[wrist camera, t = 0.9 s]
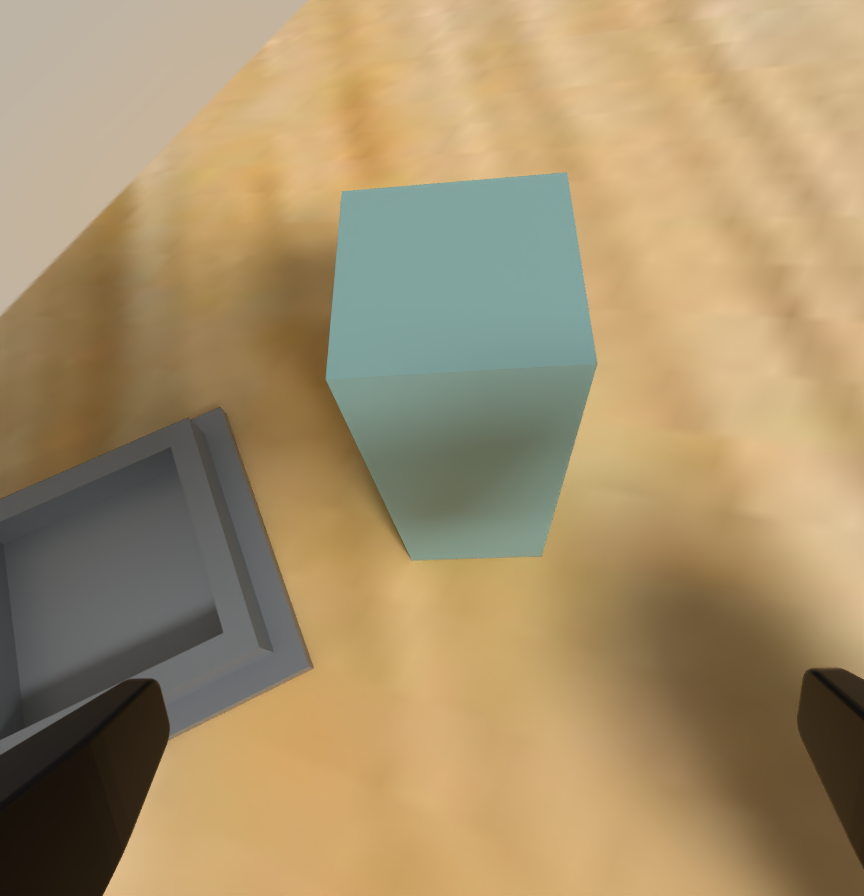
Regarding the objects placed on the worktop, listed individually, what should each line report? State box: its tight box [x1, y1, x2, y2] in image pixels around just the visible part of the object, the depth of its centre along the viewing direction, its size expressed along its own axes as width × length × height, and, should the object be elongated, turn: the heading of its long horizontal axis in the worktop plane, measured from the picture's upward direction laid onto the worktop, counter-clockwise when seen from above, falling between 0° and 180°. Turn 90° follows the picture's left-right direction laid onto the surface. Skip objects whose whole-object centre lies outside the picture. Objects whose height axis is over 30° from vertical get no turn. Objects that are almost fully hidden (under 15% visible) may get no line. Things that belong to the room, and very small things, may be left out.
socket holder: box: [0, 407, 314, 755], centre depth 22 cm, size 12×12×2 cm
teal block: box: [326, 173, 597, 560], centre depth 18 cm, size 5×5×13 cm
